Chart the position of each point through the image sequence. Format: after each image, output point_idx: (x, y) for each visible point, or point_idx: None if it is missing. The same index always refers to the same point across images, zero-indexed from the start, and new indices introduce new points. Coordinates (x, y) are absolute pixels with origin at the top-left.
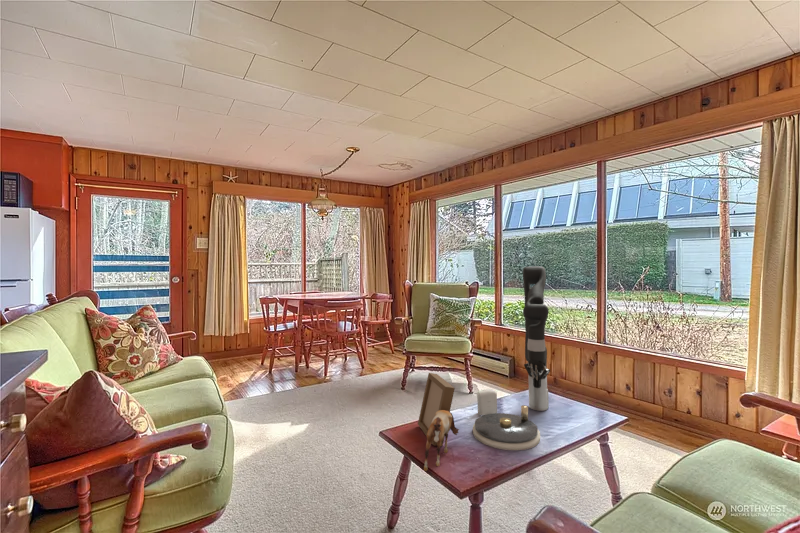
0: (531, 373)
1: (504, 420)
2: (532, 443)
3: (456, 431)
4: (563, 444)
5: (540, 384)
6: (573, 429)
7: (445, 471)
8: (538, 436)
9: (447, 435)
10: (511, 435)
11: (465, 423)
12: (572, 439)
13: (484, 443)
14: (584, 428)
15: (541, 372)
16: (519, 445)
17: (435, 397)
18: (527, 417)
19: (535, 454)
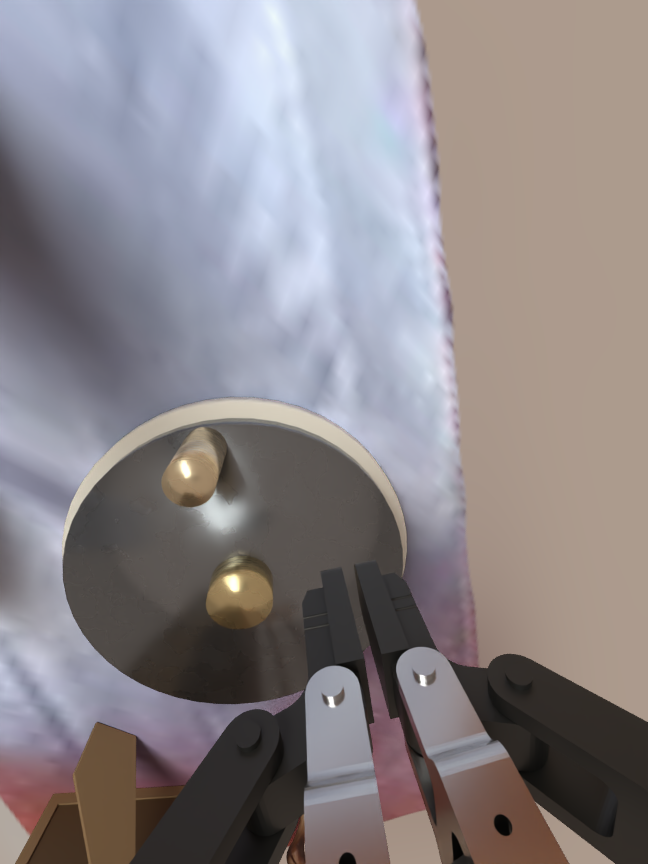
0: (254, 817)
1: (246, 611)
2: (403, 523)
3: None
4: (439, 365)
5: (414, 608)
6: (327, 150)
7: (399, 801)
8: (368, 463)
9: (303, 849)
10: (353, 609)
11: (73, 660)
12: (422, 275)
13: None
14: (344, 51)
15: (521, 812)
16: None
17: None
18: (223, 447)
19: (446, 535)
